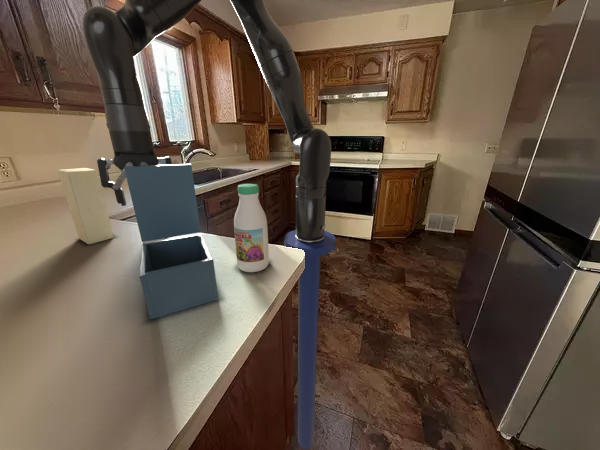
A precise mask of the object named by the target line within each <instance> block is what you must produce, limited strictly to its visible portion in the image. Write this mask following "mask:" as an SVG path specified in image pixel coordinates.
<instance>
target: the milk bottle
mask: <svg viewBox="0 0 600 450" xmlns="http://www.w3.org/2000/svg"><path fill="white" fill-rule="evenodd" d="M237 193H238V195H237V196H238V197H239V201H238V205H237V208H236V211H235V213H234V218H233V230H234V231H233V232H234V244H235V253H236V265H237V267H238V269H239V270H240V271H243V272H245V273H256V272H260V271H262V270H264V269H266V268H268V266H269V263H270V253H269V249H270V248H269V233H268V232H269V231H268V220H267V215H266V213H265V211H264V209H263V207H262V205H261V203H260V199H259V195H260V187H259V184H257V183H241V184H238V185H237Z"/></svg>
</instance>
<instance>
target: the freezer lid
mask: <svg viewBox="0 0 600 450" xmlns="http://www.w3.org/2000/svg"><path fill="white" fill-rule="evenodd" d="M124 170H125V174H126V182H127V186H128V190H129V194H130V199H131V202H132V206H133V210H134V215H135V219H136V223H137V227H138V231H139V235H140V239H141V243H143V242H145V241H151V240H157V239H163V238H165V239H170V238H176V237H182V236H188V235H194V234H200V233H202V232H201V225H200V224H201V223H200V217H199V210H198V201H197V196H196V187H195V180H194V173H193V166H192V164H191V163H179V164H177V163H176V164H172V165H162V164H158V165H154V166H131V167H124Z"/></svg>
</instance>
